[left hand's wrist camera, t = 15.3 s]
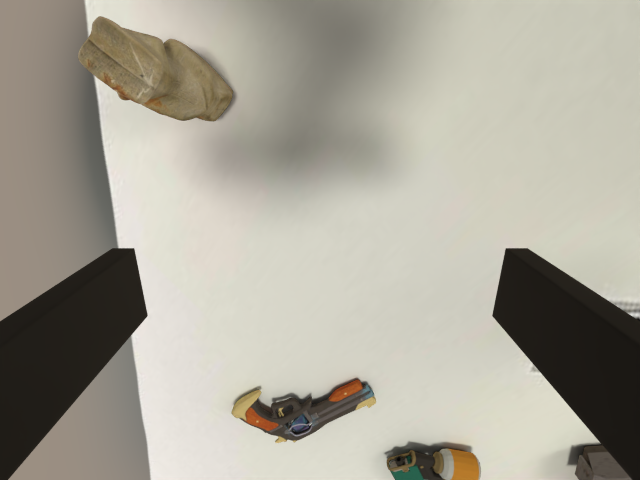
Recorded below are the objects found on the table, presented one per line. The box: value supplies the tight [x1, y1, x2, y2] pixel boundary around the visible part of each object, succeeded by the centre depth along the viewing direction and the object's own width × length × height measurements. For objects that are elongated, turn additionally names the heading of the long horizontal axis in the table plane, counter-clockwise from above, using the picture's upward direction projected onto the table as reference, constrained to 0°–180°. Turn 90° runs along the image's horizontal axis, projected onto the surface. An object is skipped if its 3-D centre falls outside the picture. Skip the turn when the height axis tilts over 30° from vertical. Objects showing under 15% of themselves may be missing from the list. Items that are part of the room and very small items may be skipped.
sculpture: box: [78, 16, 233, 121], centre depth 29 cm, size 6×7×15 cm
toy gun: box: [232, 380, 376, 443], centre depth 49 cm, size 3×19×10 cm
